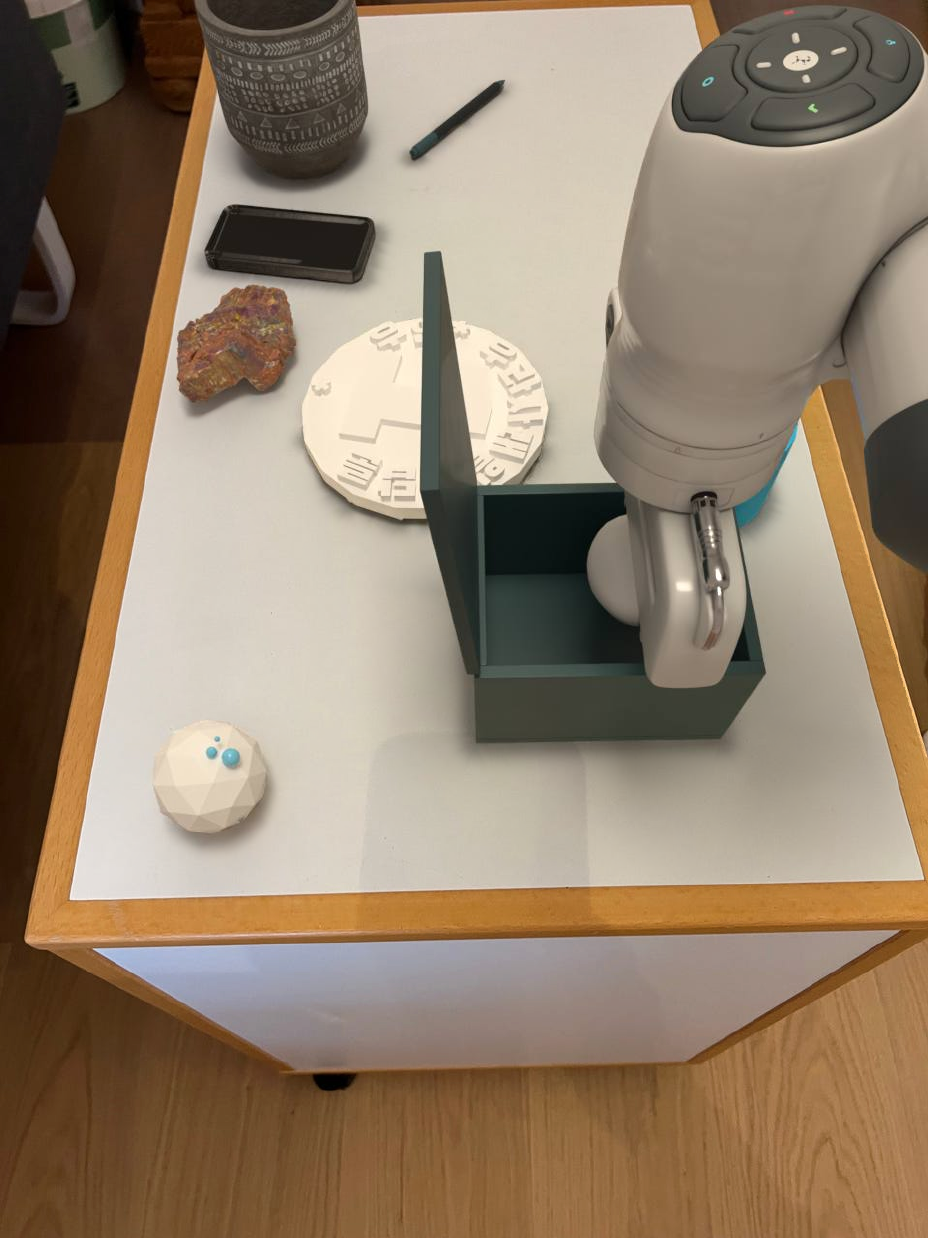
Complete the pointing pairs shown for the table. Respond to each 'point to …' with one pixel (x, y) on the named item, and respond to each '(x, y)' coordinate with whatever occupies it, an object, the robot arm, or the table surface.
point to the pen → (456, 119)
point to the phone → (291, 243)
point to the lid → (449, 464)
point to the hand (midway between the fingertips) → (645, 570)
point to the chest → (577, 632)
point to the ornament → (209, 776)
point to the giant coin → (418, 414)
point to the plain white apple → (614, 571)
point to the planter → (288, 80)
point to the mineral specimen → (236, 343)
